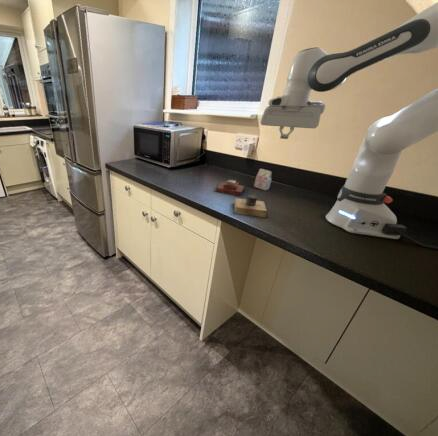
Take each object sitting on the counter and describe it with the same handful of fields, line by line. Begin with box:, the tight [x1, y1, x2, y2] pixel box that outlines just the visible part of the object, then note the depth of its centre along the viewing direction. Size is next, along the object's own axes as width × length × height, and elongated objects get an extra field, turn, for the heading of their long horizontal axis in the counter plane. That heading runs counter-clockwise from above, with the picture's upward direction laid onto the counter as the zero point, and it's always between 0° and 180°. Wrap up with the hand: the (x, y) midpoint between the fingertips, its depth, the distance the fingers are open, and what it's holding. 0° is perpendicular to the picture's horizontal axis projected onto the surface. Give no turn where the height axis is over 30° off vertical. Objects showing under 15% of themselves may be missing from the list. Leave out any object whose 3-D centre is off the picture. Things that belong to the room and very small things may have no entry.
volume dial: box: [246, 194, 258, 206], centre depth 100 cm, size 4×4×4 cm
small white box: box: [253, 168, 273, 191], centre depth 124 cm, size 4×7×10 cm, turn 33°
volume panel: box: [233, 197, 268, 218], centre depth 101 cm, size 12×10×3 cm
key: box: [227, 179, 237, 185], centre depth 120 cm, size 4×4×2 cm
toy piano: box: [215, 180, 245, 197], centre depth 122 cm, size 12×10×4 cm
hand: (283, 138), depth 95 cm, fingers closed
